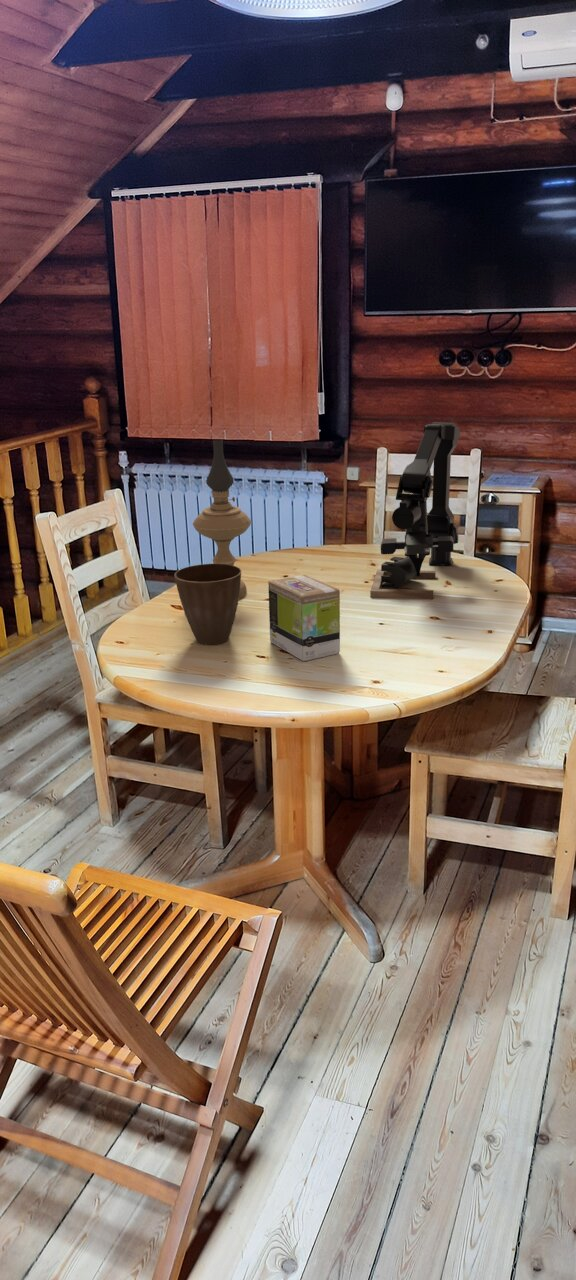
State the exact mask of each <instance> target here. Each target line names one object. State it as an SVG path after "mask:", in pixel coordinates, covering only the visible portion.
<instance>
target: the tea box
mask: <svg viewBox="0 0 576 1280" xmlns="http://www.w3.org/2000/svg"><path fill="white" fill-rule="evenodd" d="M267 584H268V614H269V615H268V616H269V617H268V619H269V640H270V643H271V644H273V645H276V646H277V647H278V648H279V649H282V650H284V651H285V652H287V653H288V654H290V655H292V656H294V657H295V658H297V659H299V660H300V661H301V662H306V661H312V660H317V659H321V658H324V657H328V656H333V655H336V654H340V652H341V629H340V628H341V626H340V625H341V624H340V623H341V621H340V620H341V611H340V609H341V608H340V607H341V606H340V603H341V598H340V597H341V596H340V595H341V593H340V592H341V590H340V589H339V588H337V587H335V586H332V585H331V584H328V583H325V582H323V581H320V580H318V579H315V578H313V577H312V576H311V577H310V576H308V575H306V574H303V575H295V576H289V577H285V578H279V579H274V580H268V583H267Z"/></svg>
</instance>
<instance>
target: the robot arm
mask: <svg viewBox="0 0 576 1280" xmlns="http://www.w3.org/2000/svg"><path fill="white" fill-rule="evenodd" d="M460 431H461V430H460V427H459V426H457V424H456V423H455V422H443V421H442V422H441V421H440V422H439V421H438V422H436V421H433V422H432V423H428V424H425V425H424V427H423V436H422V437H421V438H422V439H421V440H420V443H419V445H418V449H417V451H416V453H415V457H414V460H413V461H412V462H411V463H409V464H407V465H406V467H405V468H404V470H403V472H402V474H401V475H400V477H399V482H398V485H397V491H396V495H395V500H396V501H400V502H399V506H398V507H397V508H396V509H394V511H393V512H392V515H391V520H392V522H393V525H394V526H395V527H396V528H398V529H399V530H405V535H404V541H398V540H397V538H396V537H395V538H394V537H393V538H391V537H390V538H383V539H382V540H381V541H380V542H381V543H380V554H381V555H394V554H395V553H396V551H397V550H403V551H404V556H405V557H407V556H408V557H409V558H410V559H411V560H412V562H413V564H414V567H415V569H416V572H417V577H420V570H421V568H422V565H423V562H424V560H425V558H426V557H427V556H430V557H429V559H428V560H429V561H428V565H429V566H453V557H452V553H453V552H454V545H455V544H458V543H459V532H458V531H459V530H458V528H457V526H456V523H455V516H454V513H453V512H452V510H451V508H450V487H451V486H450V485H451V484H450V483H451V460H452V455H453V452H454V450H455V449H456V447H457V446H458V441H459V439H460V436H461V432H460ZM432 467H433V471H432V472H433V475H432V473H431V468H432ZM431 493H432V497H431V498H432V499H431V500H432V502H431V503H432V504H431V506H432V507H431V509H430V510H429V512H428V508H427V507H428V506H427V500H428V499H429V498H430V496H431Z"/></svg>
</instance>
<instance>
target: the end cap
mask: <svg viewBox="0 0 576 1280" xmlns="http://www.w3.org/2000/svg"><path fill="white" fill-rule="evenodd" d="M380 570H381V571H386V572H390V573H391V574H390V576H384V575H381V581H382V585H381V588H387V589H389V588H390V589H398V588H399V587H401V586H402V585H404V584H405V583H407V582H409V581H411V579H414V578H413V577H414V576H415V575H416V574H417V572H416V569H415V567H414V564H413V562H412V560H411V559H410V558H409V557H408V556H405V557H400V556H392V557H391V558H389V561H384V562H382V564H381V566H380Z"/></svg>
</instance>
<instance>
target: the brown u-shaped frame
mask: <svg viewBox="0 0 576 1280" xmlns="http://www.w3.org/2000/svg"><path fill="white" fill-rule="evenodd" d="M436 573H437V572H436V570H421V569H420V577H417V574H416V575H415V576H414V577H413V578H412V579H436V575H437V574H436ZM390 574H391V573H390V572H386V571H381V569H379V568H378V569H377V570H376V572H375V575H374V578H373V582H372V583H371V588H370V593H369V595H370V596H369V597H370V598H391V599H392V598H395V599H399V598H400V599H422V600H425V599H427V600H430V599H431V600H433V599H434V592H435V591H434V590H430V589H428V590H426V589H425V590H424V589H398V588H390V589H389V588H382V583H383V582H382V581H381V575H384V576H390Z"/></svg>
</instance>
